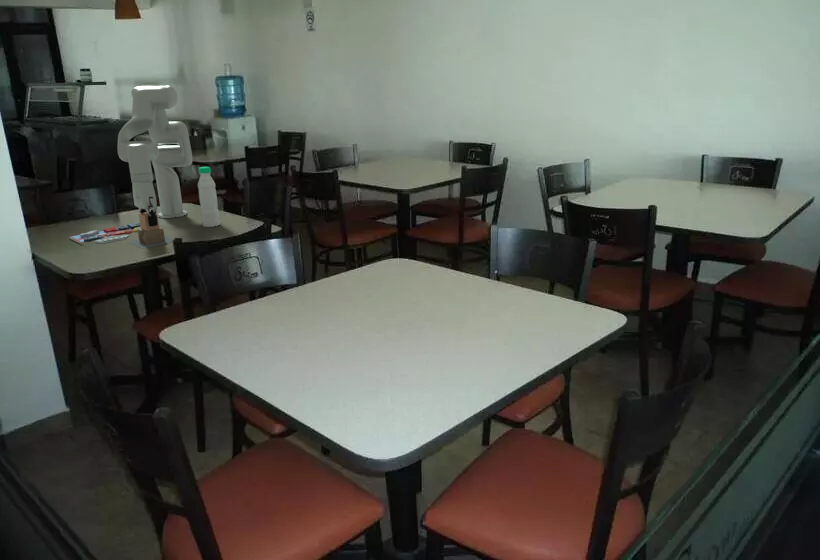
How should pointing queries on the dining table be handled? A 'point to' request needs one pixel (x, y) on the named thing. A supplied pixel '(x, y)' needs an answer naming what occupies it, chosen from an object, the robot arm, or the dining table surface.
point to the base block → (151, 236)
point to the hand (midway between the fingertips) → (149, 223)
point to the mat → (142, 245)
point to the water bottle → (208, 198)
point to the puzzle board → (107, 234)
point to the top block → (146, 222)
